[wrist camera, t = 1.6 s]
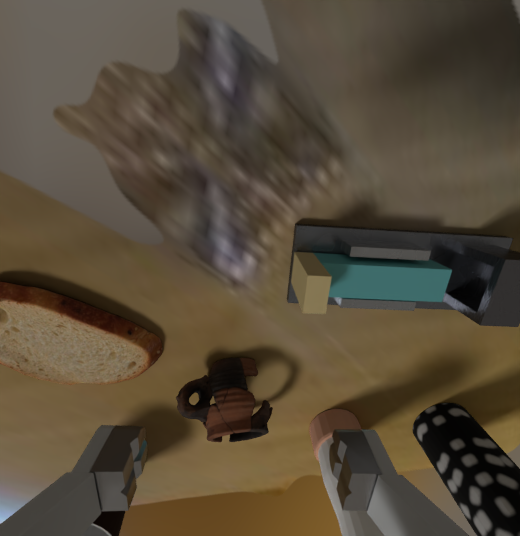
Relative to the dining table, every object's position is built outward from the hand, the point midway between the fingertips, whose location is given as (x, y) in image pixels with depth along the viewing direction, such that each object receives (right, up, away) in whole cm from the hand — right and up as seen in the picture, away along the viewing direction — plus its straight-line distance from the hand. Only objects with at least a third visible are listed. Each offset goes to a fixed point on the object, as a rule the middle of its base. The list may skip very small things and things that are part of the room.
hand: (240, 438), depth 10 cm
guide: (+16, +6, +21) cm, 27 cm away
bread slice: (-22, -1, +23) cm, 32 cm away
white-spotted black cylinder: (+28, -17, +30) cm, 44 cm away
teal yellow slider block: (+12, +6, +19) cm, 24 cm away
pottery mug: (-4, -9, +26) cm, 28 cm away
